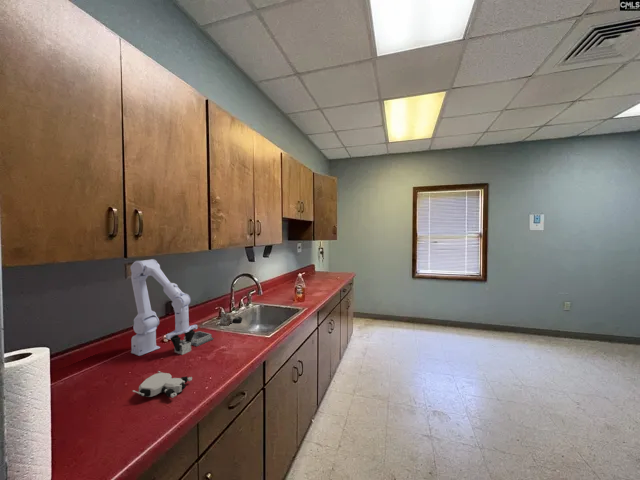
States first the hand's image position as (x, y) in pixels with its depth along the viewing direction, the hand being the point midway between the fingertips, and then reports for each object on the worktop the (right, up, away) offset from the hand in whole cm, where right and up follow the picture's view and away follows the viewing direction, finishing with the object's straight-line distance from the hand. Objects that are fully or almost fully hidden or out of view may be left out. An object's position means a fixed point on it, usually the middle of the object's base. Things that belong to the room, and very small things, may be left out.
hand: (182, 348), depth 121 cm
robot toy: (+11, -2, -31) cm, 33 cm away
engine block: (0, -2, 0) cm, 2 cm away
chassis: (+1, -1, +12) cm, 13 cm away
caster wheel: (+10, -1, +39) cm, 40 cm away
